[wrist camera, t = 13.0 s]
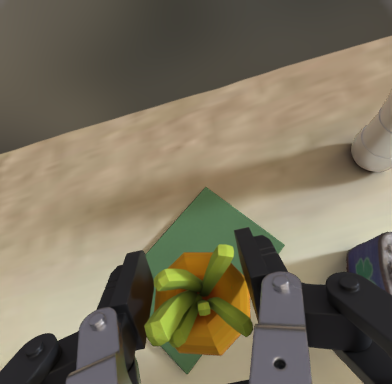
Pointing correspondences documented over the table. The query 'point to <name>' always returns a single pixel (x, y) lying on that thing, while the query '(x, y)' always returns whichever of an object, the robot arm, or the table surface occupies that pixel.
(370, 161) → the plastic bottle
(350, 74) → the table surface
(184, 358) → the green mat
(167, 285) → the carrot
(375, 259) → the flask
